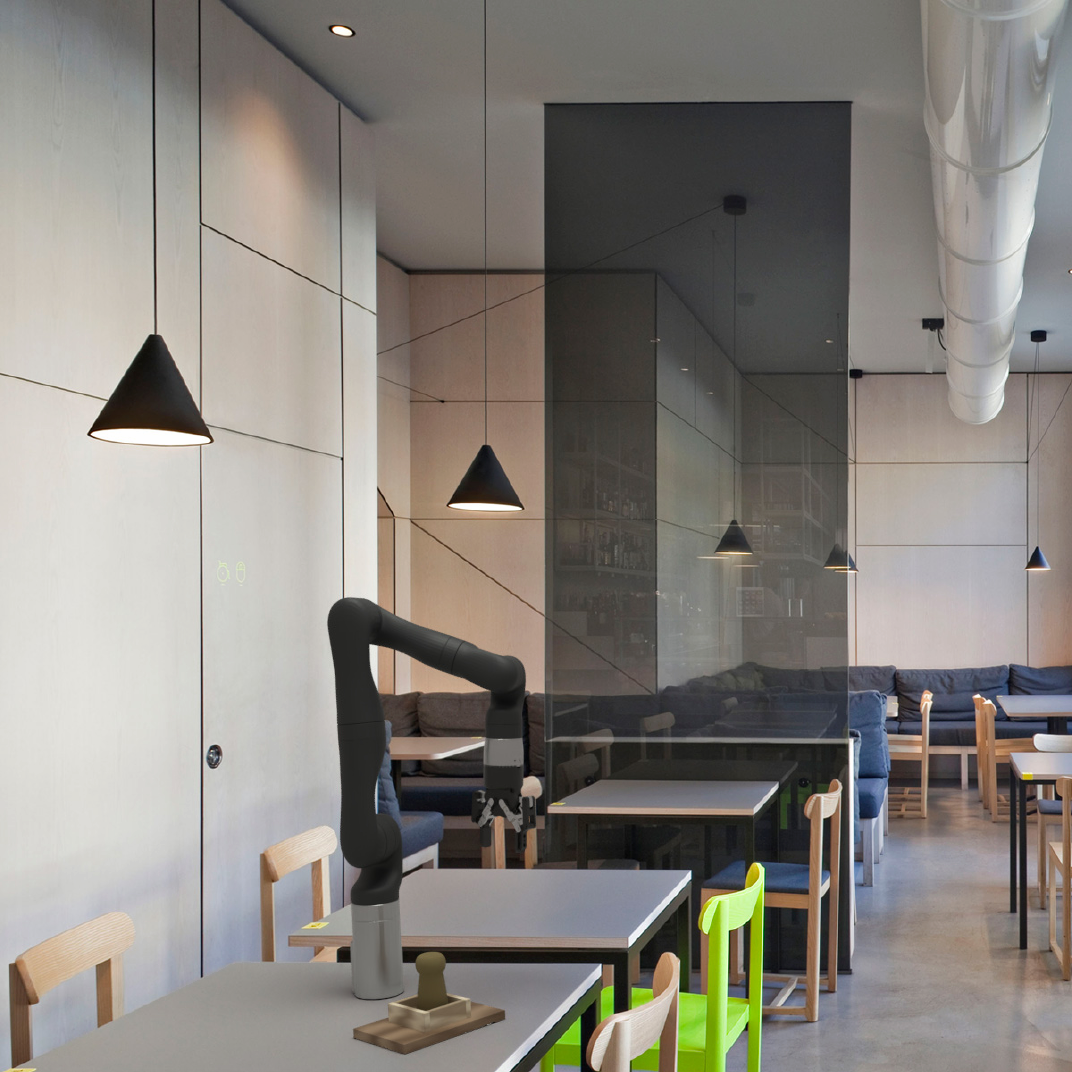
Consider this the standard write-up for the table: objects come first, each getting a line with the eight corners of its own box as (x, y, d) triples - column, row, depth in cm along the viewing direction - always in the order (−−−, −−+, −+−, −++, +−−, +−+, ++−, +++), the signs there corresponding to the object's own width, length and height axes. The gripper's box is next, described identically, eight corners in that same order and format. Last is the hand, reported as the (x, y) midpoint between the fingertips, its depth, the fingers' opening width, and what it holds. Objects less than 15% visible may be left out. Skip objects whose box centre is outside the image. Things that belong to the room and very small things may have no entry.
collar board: (353, 1037, 207) (352, 1010, 207) (452, 1005, 222) (451, 979, 222) (404, 1054, 197) (403, 1025, 197) (505, 1019, 212) (503, 992, 212)
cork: (445, 1024, 206) (442, 957, 207) (411, 1024, 207) (408, 958, 208) (455, 1013, 212) (451, 948, 213) (421, 1013, 213) (418, 948, 214)
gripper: (462, 760, 232) (461, 847, 231) (519, 766, 223) (518, 856, 222) (489, 758, 238) (488, 842, 237) (545, 763, 229) (545, 851, 227)
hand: (503, 849), depth 229 cm, fingers open, 8 cm apart
